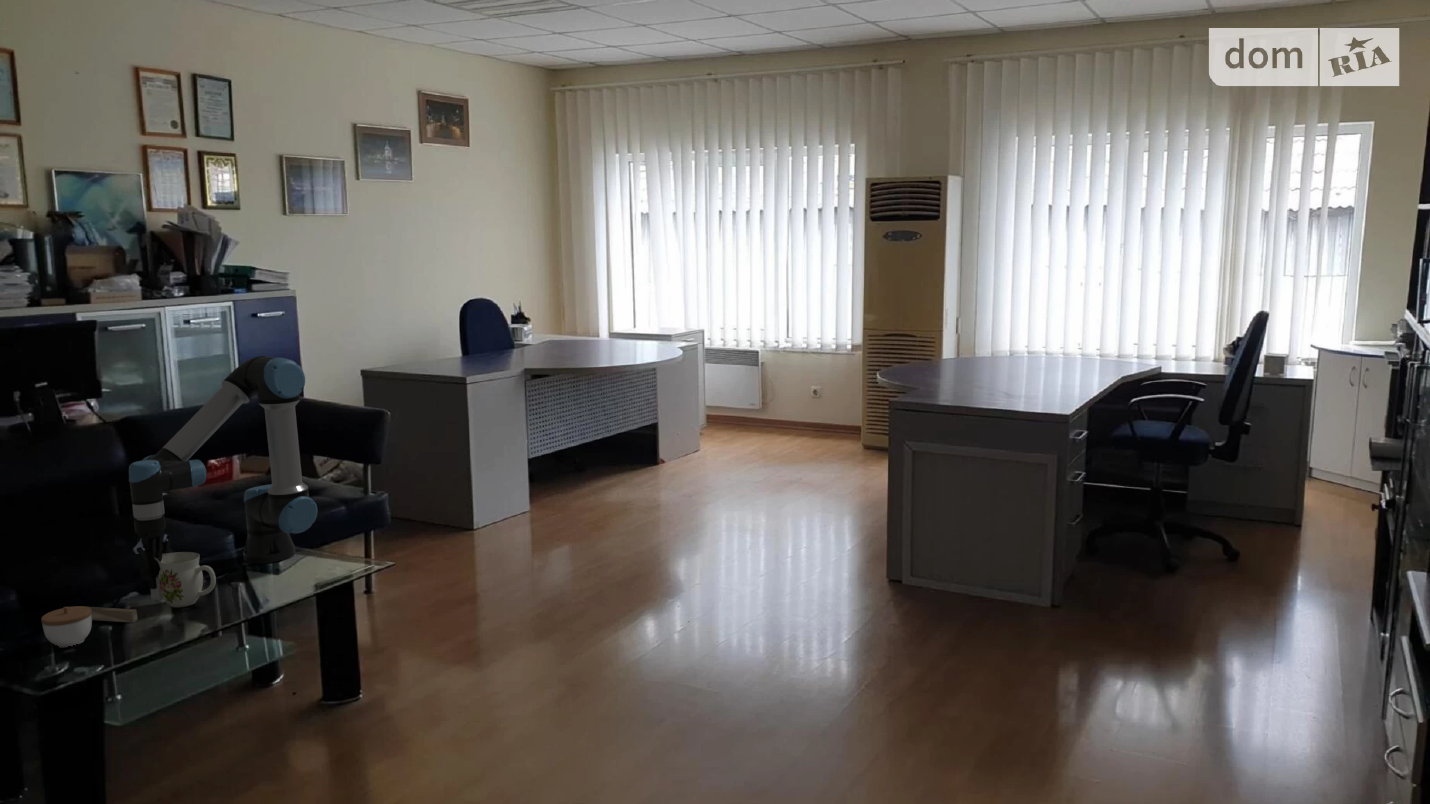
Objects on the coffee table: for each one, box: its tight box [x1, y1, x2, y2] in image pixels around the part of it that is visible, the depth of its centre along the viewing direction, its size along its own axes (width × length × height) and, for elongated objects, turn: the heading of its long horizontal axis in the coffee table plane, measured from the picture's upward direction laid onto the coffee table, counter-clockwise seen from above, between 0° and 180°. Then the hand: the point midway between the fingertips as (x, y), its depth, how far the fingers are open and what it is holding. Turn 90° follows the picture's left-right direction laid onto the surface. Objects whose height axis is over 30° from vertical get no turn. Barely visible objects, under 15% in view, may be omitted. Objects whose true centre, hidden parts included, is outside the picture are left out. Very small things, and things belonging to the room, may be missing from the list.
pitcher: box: [154, 551, 217, 608], centre depth 282 cm, size 11×18×14 cm, turn 85°
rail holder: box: [88, 606, 138, 623], centre depth 283 cm, size 27×15×3 cm, turn 169°
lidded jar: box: [40, 605, 93, 648], centre depth 256 cm, size 11×11×9 cm
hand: (157, 598), depth 283 cm, fingers closed
